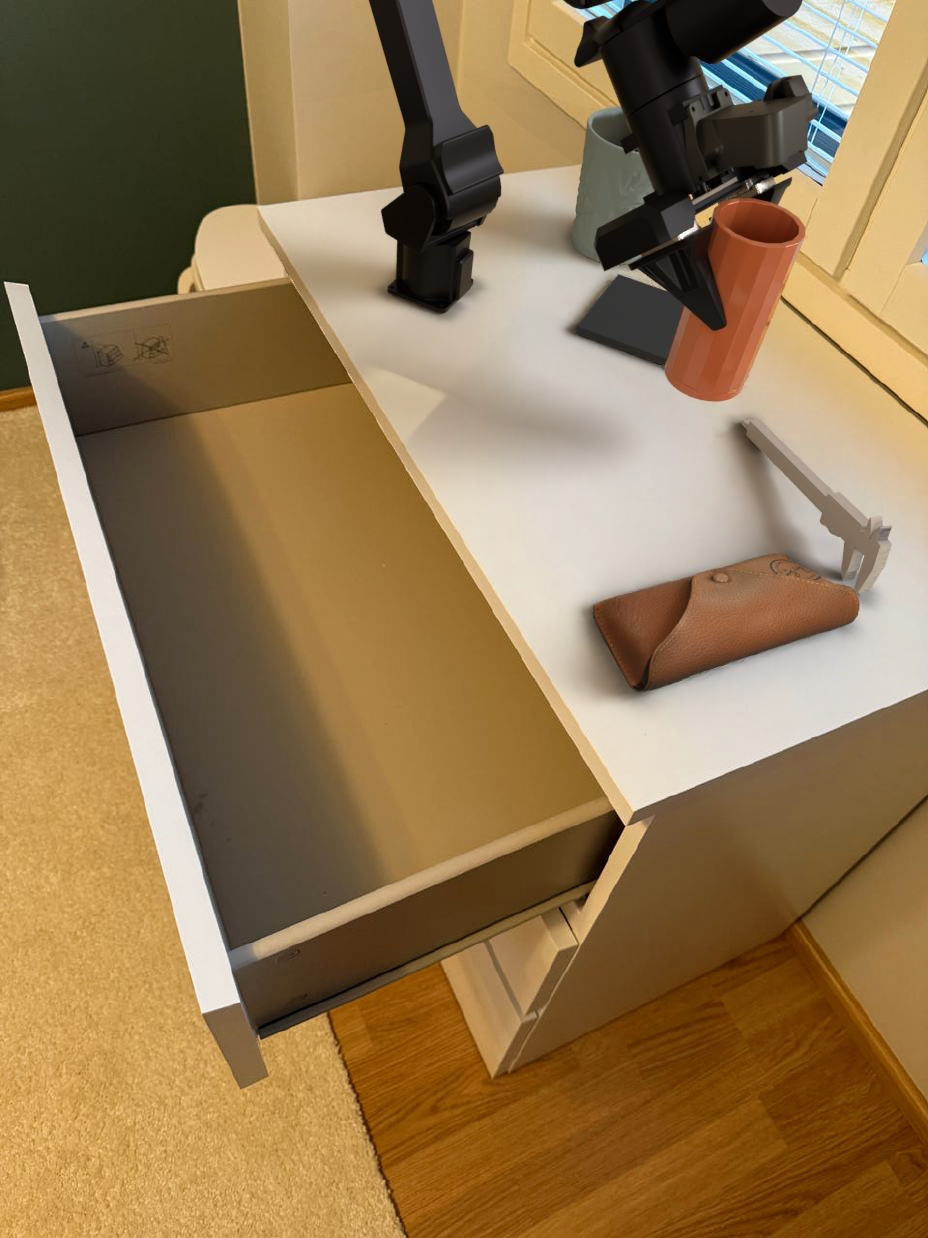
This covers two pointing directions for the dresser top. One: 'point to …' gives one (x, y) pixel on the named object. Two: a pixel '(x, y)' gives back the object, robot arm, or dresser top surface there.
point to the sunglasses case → (719, 618)
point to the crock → (736, 298)
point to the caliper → (831, 511)
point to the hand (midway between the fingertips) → (745, 311)
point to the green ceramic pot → (607, 179)
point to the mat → (634, 319)
